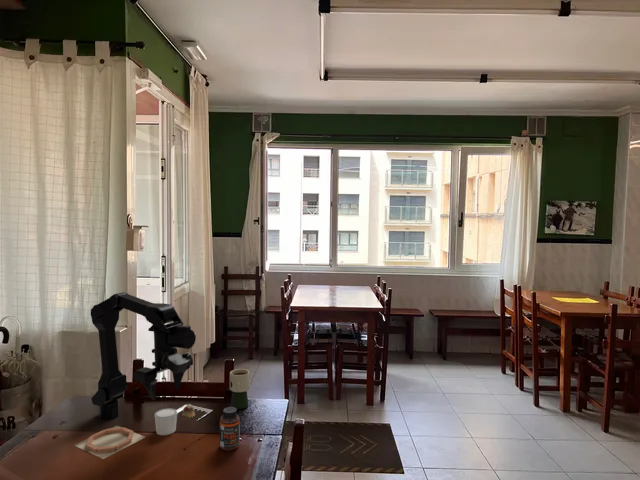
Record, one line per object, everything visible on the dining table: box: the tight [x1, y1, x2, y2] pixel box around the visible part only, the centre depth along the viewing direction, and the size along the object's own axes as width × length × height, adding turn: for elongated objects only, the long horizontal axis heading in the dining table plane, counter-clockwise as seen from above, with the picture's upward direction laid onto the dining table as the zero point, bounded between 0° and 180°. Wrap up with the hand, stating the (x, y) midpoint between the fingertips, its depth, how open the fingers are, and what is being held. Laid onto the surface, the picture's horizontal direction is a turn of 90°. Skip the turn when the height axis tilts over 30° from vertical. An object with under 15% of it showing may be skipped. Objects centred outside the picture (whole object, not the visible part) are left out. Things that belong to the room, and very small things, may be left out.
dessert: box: [176, 403, 214, 421], centre depth 149 cm, size 12×12×5 cm
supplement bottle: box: [218, 406, 241, 452], centre depth 129 cm, size 6×6×11 cm
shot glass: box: [154, 408, 178, 436], centre depth 136 cm, size 7×7×7 cm
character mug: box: [229, 368, 251, 410], centre depth 156 cm, size 11×7×13 cm, turn 4°
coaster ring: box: [86, 426, 135, 453], centre depth 129 cm, size 12×12×1 cm
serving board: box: [73, 425, 146, 460], centre depth 129 cm, size 14×14×1 cm
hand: (165, 394), depth 135 cm, fingers open, 9 cm apart
